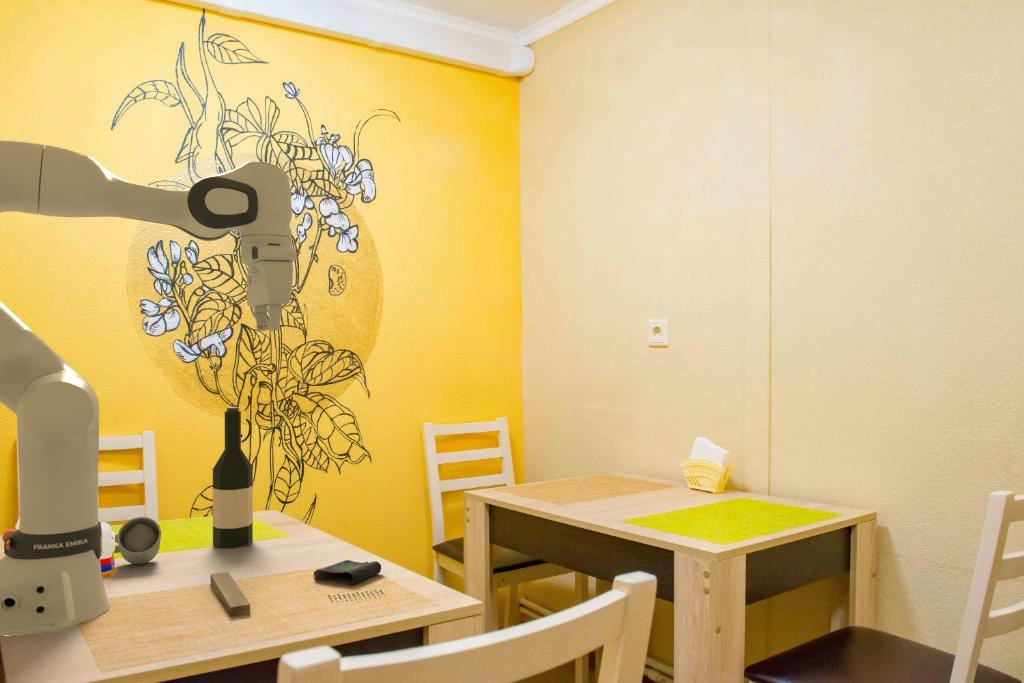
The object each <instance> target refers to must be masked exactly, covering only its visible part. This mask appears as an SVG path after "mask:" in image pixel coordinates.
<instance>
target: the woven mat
mask: <svg viewBox="0 0 1024 683" xmlns="http://www.w3.org/2000/svg"><path fill="white" fill-rule="evenodd" d="M364 592H365V593H364ZM364 592H362V591H361V595H362V596H363V597H364V599H365V600H366V601H368V599H367V597H366V595H367V596H368V597H369V600H372V598H371V595H372V596H373V598H375V599H376V596H375V594H376V593H377V597H379V599H382V597H381V596H379V595H385V594H384V592H383V591H382V590H381V589H380V590H379V592H377V589H374V592H375V593H374V592H373V590H372V591H369V592H368V590H367V591H364ZM372 592H373V593H372ZM380 592H381V593H380ZM379 593H380V594H379ZM355 594H356V595H355ZM351 595H352V597H353V598H354V600H356V602H359V600H357V598H356V596H357V597H358V598H359V599H360V601H363V599H362V597H361V595H360V593H359V592H358V591H357V592H355V593H351V594H350V593H346V594H342V597H343V598H342V597H341V595H340V594H339V593H338V594H337V595H333V596H332V597H331V595H330V594H328V595H327V596H328V599H330V602H334V600H335V602H336V603H337V604H339V603H338V602H339V601H343V599H345V602H346V603H349V602H348V599H346V598H349V599H350V600H352V597H351ZM336 596H338V598H337V597H336ZM346 596H348V597H346ZM333 597H334V600H332V599H333ZM337 599H340V600H339V601H338V600H337Z"/></svg>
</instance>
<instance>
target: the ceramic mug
mask: <svg viewBox="0 0 1024 683" xmlns="http://www.w3.org/2000/svg"><path fill="white" fill-rule="evenodd" d="M114 535H115V543H116V544H118V545H115V546H116V547H115V551H114V553H113V554H119V553H120V555H121V556H122V558H123V560H125V561H126V562H127V563H128V564H131V565H137V566H138V565H144V564H147V563H149V562H151V561H153V559H154V558H155V557H156V556H157V555H158V553H159V550H160V547H161V539H162V538H161V537H162V529H161V526H160V524H159V523H158V522H157V521H156V520H154V519H153V518H152V517H151V518H150V517H147V516H138V517H133V518H131V519H128V521H126V522H125V523H123V525H122V526H121V527H120V528H119V530H118V532H117V534H114ZM115 543H114V544H115Z"/></svg>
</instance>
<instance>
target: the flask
mask: <svg viewBox="0 0 1024 683" xmlns="http://www.w3.org/2000/svg"><path fill="white" fill-rule="evenodd" d="M381 571H382V565H381V563H380V562H379V561H377V560H376V561H374V560H373V561H370V562H368V561H365V562H359V561H353V560H349V559H345V560H343V561H340V562H337V563H335V564H331V565H327V566H325V567H322V568H319V569H316V570H315V571H314V572H313V579H314V581H315V582H318V581H321V580H323V579H325V578H328V577H330V576H334V575H335V574H342V573H349V574H351V576H352V582H351V583H348V584H347V585H346V587H349V586H351V585H354V584H355V583H356V584H357V583H358V582H360V581H363V580H365V579H368V578H371V577H373V576H376V575H378V574H380V573H381Z"/></svg>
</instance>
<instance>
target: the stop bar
mask: <svg viewBox="0 0 1024 683" xmlns="http://www.w3.org/2000/svg"><path fill="white" fill-rule="evenodd" d="M210 587H211V589H212V590H213V592H214V594H215V595H216V597H217V598H218V600H219V601H220V603H221V605H222V606H223V608H224V609H225V611H226V612H227V614H228V616H229V617H230V618H234V617H241V616H247V615H250V614H251V603H250V602H249V601H248V598H247V597H246V596H245V595H244V593H243V591H242V590H241V589H240V587H239V585H238V584H237V583H236V581H235V580H234V579H233V577H232V575H231V573H230V572H229V571H224V572H223V571H221V572H217V573H210Z"/></svg>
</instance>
